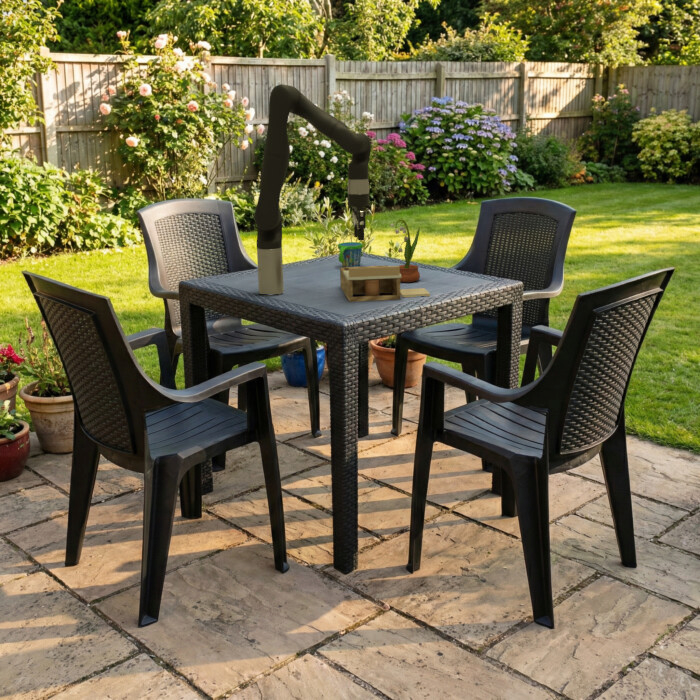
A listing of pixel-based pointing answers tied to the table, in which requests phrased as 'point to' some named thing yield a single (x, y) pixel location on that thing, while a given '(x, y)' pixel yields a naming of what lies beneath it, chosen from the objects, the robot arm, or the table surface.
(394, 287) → the open wooden frame
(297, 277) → the table surface
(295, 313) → the table surface
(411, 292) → the stone tile
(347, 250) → the snack cup
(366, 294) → the clay pot
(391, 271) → the lid
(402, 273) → the potted flower
